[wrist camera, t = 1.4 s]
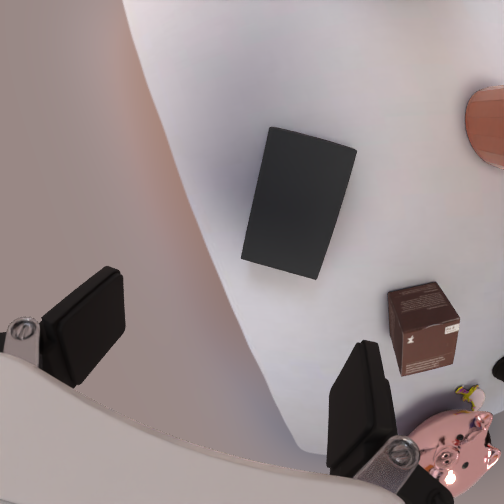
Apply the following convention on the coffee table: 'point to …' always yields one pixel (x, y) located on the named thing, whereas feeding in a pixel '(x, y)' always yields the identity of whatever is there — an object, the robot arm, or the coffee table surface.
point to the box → (422, 328)
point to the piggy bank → (456, 447)
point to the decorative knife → (473, 396)
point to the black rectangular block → (297, 201)
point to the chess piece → (499, 370)
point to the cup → (487, 124)
